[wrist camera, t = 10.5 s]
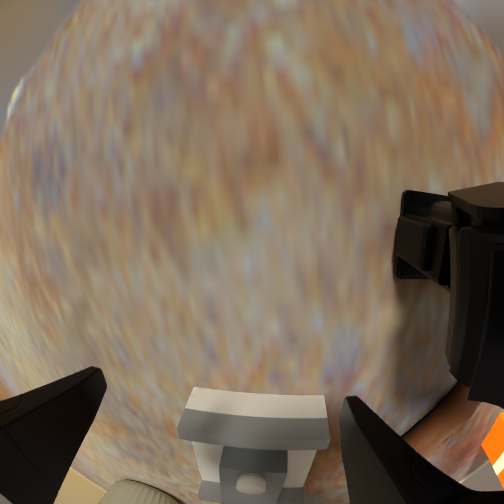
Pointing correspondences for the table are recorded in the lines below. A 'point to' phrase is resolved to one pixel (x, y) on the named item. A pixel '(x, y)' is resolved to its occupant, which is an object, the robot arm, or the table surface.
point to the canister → (135, 494)
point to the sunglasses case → (442, 421)
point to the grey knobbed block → (252, 475)
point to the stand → (255, 433)
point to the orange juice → (496, 447)
